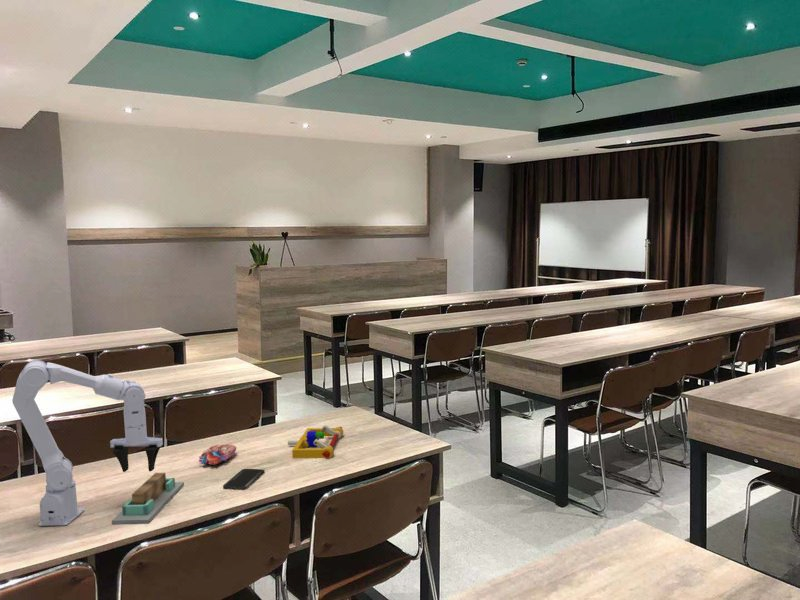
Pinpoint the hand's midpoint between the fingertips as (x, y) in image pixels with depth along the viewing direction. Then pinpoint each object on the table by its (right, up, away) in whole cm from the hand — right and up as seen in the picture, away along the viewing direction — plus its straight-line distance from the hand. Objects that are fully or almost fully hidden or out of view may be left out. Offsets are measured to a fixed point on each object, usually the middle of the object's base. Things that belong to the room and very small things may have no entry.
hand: (138, 470), depth 181 cm
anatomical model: (+13, -6, +33) cm, 36 cm away
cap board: (+4, -9, -1) cm, 10 cm away
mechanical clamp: (+45, -4, +47) cm, 65 cm away
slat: (+4, -8, -1) cm, 9 cm away
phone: (+27, -8, +15) cm, 32 cm away
